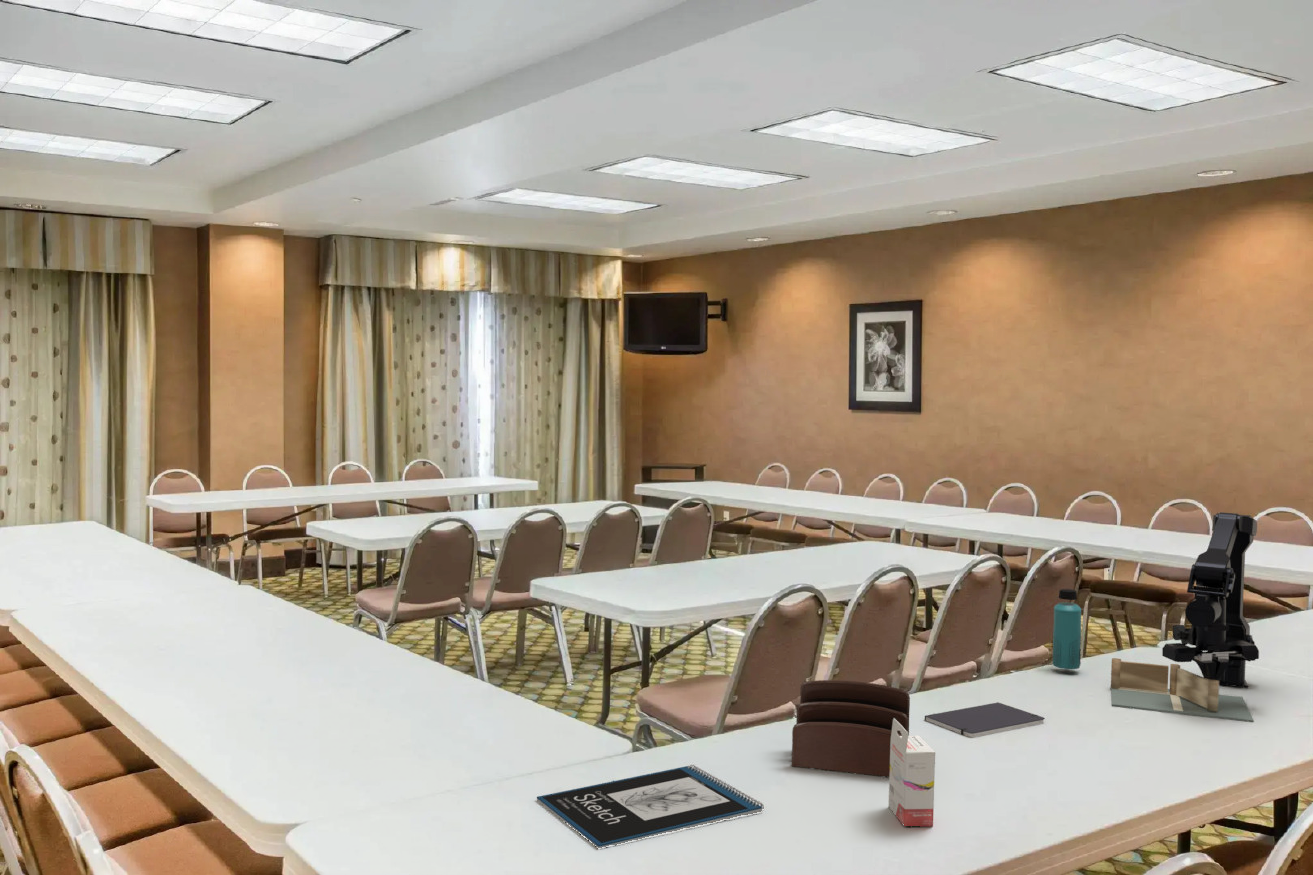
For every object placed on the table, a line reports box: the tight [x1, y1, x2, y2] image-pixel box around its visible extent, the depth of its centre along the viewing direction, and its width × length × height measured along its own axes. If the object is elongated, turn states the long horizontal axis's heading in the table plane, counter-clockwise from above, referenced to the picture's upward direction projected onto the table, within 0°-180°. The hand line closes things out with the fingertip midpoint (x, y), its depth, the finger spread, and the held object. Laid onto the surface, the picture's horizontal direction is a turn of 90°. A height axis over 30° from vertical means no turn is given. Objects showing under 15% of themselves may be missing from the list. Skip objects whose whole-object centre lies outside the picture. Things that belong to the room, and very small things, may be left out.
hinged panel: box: [1176, 667, 1220, 711], centre depth 238 cm, size 13×2×6 cm, turn 9°
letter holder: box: [791, 679, 911, 778], centre depth 198 cm, size 10×20×14 cm, turn 74°
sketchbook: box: [536, 764, 765, 848], centre depth 177 cm, size 22×30×2 cm
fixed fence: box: [1110, 657, 1181, 695], centre depth 248 cm, size 2×14×7 cm, turn 68°
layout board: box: [1110, 687, 1255, 723], centre depth 241 cm, size 19×27×1 cm
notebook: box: [924, 701, 1045, 738], centre depth 225 cm, size 13×2×21 cm
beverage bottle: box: [1051, 588, 1082, 670], centre depth 265 cm, size 6×7×20 cm
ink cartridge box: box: [888, 718, 936, 828], centre depth 174 cm, size 9×5×15 cm, turn 5°
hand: (1210, 690), depth 237 cm, fingers closed
